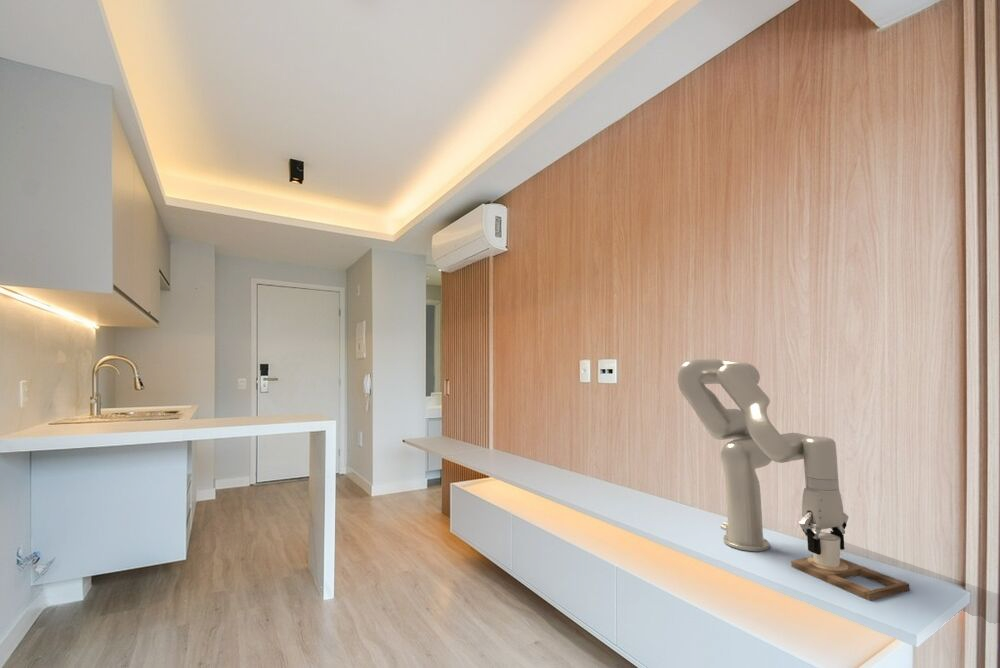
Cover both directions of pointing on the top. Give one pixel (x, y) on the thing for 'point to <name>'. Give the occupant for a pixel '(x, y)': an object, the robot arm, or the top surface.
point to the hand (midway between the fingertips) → (826, 550)
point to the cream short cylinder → (828, 550)
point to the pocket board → (848, 570)
